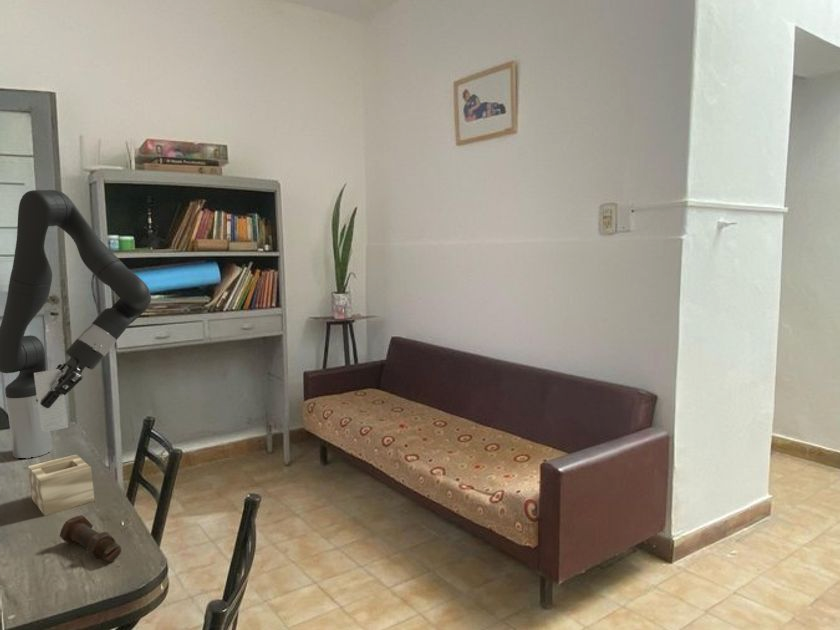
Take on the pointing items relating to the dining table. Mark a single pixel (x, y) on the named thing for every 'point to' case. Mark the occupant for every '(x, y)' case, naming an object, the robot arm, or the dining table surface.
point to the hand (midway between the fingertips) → (42, 404)
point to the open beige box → (61, 484)
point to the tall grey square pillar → (57, 412)
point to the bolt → (90, 539)
